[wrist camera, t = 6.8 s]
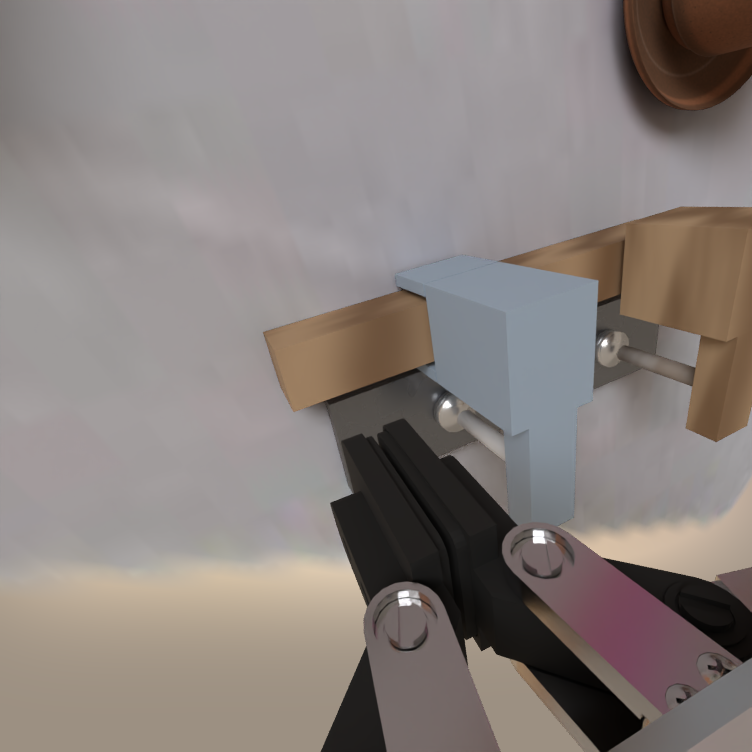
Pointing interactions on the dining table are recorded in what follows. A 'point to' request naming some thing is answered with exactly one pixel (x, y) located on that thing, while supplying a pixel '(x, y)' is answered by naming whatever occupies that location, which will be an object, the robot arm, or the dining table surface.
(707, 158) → the dining table surface
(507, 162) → the dining table surface
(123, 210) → the dining table surface
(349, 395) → the bolt plate
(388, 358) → the beam
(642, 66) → the cup and saucer
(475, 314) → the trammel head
